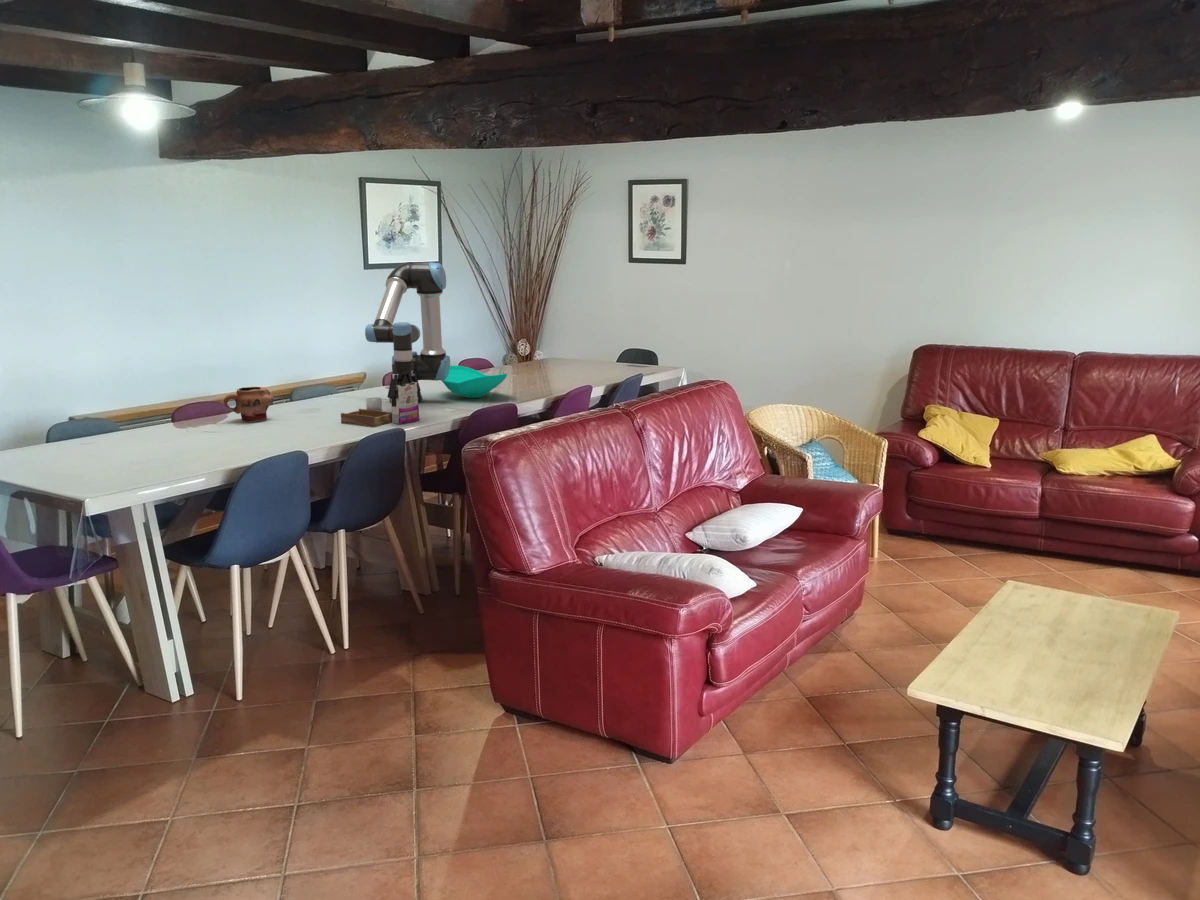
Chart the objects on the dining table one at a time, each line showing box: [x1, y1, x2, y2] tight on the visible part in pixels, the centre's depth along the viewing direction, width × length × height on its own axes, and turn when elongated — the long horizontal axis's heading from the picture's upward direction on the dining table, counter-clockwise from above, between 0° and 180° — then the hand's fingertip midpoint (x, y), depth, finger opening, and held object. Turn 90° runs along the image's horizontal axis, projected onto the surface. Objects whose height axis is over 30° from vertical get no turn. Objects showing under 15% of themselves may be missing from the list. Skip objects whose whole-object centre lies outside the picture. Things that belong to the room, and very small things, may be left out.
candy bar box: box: [390, 382, 420, 425], centre depth 384 cm, size 11×5×16 cm, turn 143°
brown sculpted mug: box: [223, 386, 275, 423], centre depth 382 cm, size 20×12×14 cm, turn 132°
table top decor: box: [440, 365, 508, 399], centre depth 444 cm, size 40×28×13 cm
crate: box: [340, 408, 392, 428], centre depth 383 cm, size 12×17×4 cm
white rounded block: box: [365, 397, 383, 411], centre depth 395 cm, size 6×6×8 cm
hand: (405, 411), depth 385 cm, fingers closed on candy bar box, 12 cm apart
